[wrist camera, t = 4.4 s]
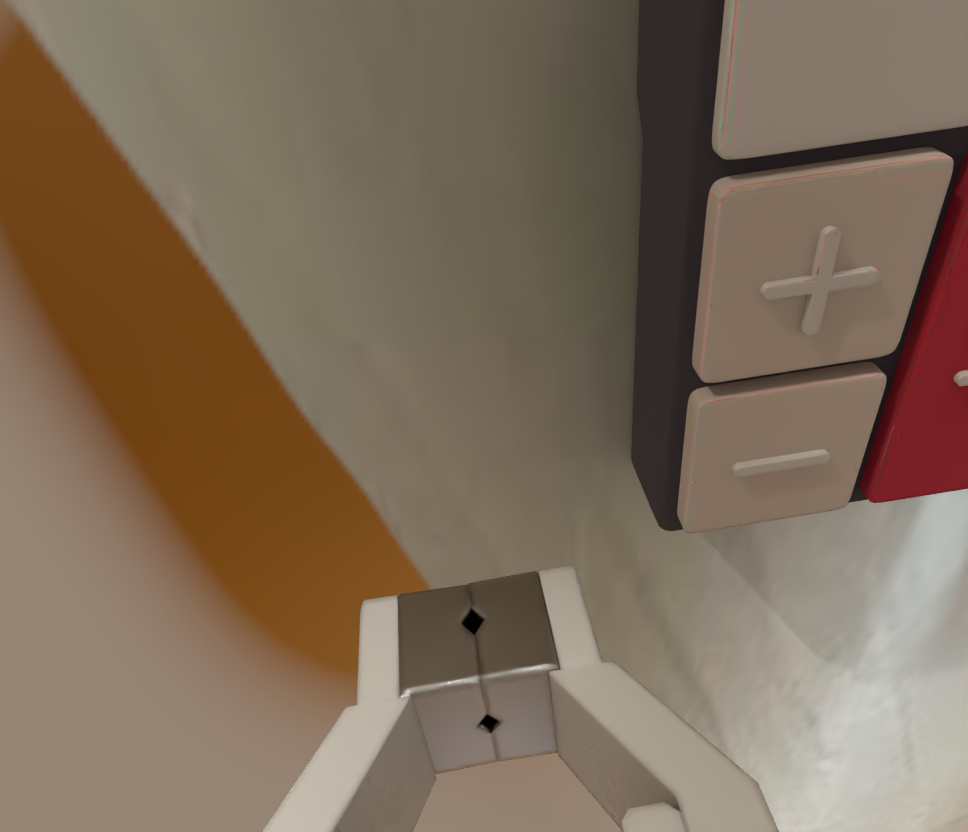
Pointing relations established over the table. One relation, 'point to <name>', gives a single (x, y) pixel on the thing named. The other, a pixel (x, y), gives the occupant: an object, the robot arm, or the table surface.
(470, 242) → the table surface
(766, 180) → the calculator
